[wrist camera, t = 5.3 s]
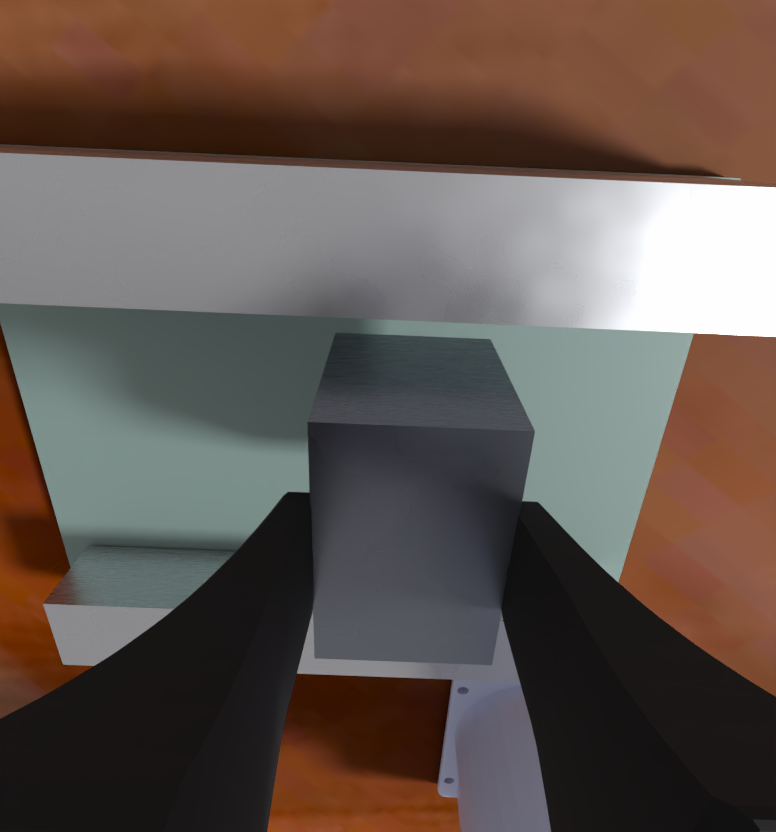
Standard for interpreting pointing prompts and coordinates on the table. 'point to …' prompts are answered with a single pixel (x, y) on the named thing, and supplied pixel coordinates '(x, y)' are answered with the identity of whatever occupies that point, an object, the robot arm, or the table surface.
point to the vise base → (350, 319)
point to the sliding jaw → (168, 587)
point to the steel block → (413, 497)
